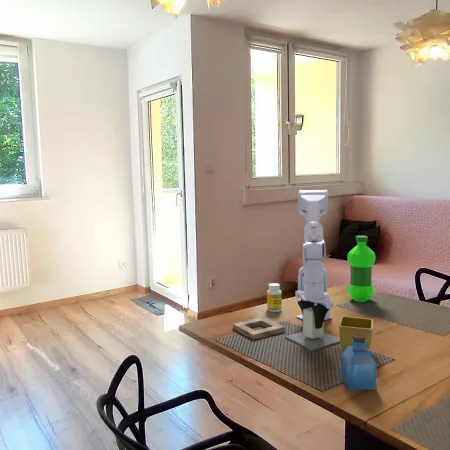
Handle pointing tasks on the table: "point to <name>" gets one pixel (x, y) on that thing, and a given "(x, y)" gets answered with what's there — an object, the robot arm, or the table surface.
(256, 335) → the wooden square frame
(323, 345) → the charcoal mat
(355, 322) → the flower pot
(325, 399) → the table surface
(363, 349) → the perfume bottle
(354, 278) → the plastic bottle
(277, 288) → the supplement bottle
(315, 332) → the sage link block
